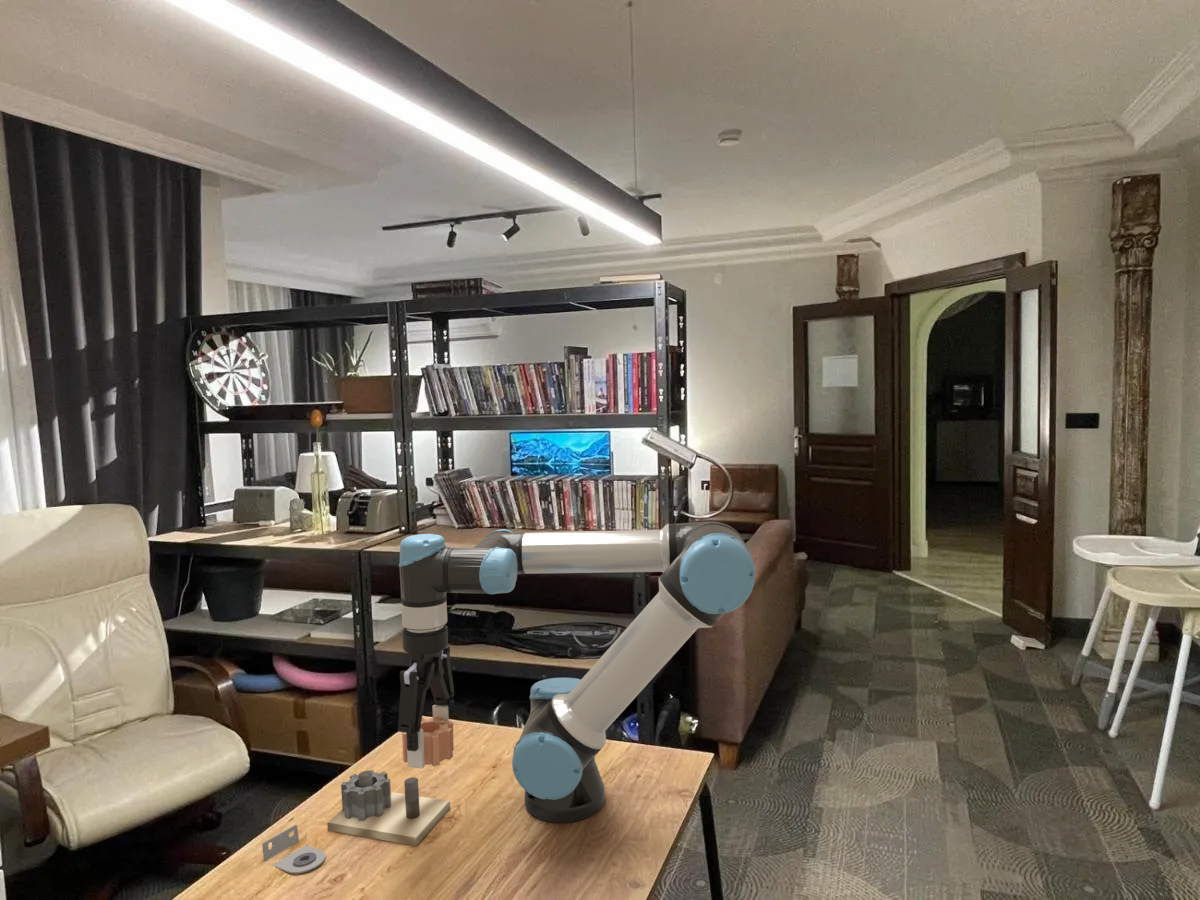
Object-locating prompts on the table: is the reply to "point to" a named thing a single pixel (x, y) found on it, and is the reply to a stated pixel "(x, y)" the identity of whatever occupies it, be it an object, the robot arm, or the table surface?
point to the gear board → (386, 810)
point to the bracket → (294, 860)
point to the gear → (434, 741)
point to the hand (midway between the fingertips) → (429, 753)
